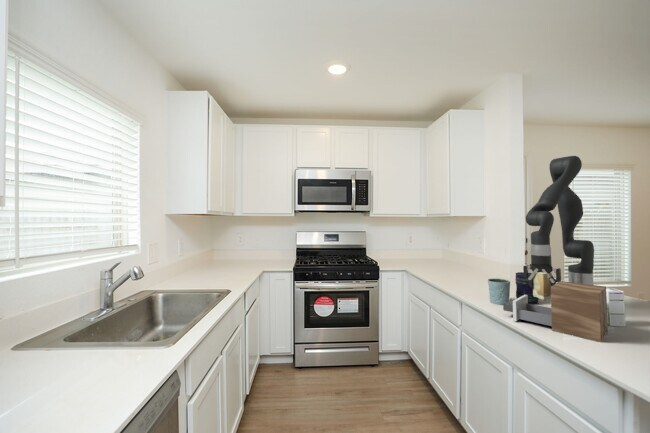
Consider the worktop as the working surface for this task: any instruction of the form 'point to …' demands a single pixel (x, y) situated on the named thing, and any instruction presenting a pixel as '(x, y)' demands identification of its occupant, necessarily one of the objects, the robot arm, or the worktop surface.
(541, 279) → the skincare box
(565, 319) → the wood grain block
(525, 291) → the storage jar
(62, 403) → the worktop surface
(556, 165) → the robot arm
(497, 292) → the teal planter pot
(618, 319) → the syrup box
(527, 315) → the drawer
